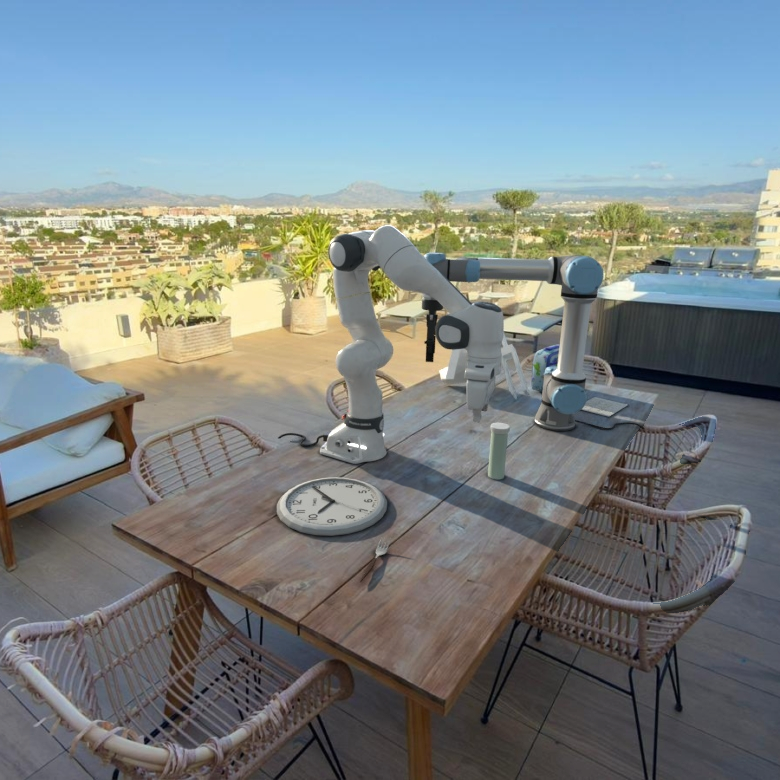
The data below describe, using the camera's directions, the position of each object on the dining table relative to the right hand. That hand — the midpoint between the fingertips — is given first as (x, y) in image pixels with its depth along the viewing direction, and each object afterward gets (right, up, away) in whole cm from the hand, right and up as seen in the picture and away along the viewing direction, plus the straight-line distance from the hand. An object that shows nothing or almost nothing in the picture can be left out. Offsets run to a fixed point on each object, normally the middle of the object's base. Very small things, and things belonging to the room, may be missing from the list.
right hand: (430, 357), depth 190 cm
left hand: (+10, -19, -50) cm, 54 cm away
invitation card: (+77, -19, +37) cm, 87 cm away
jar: (+18, -38, -28) cm, 51 cm away
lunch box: (+63, -12, +60) cm, 88 cm away
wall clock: (-30, -43, -47) cm, 71 cm away
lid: (+18, -23, -33) cm, 44 cm away
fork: (-18, -51, -71) cm, 90 cm away
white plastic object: (+27, -13, +54) cm, 61 cm away
